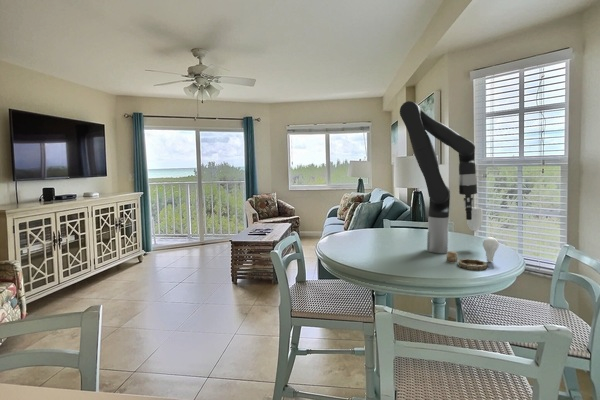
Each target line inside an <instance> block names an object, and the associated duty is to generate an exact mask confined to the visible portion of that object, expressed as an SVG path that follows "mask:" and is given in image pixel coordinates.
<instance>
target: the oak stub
mask: <svg viewBox="0 0 600 400" xmlns="http://www.w3.org/2000/svg"><path fill="white" fill-rule="evenodd" d="M446 262H447V263H451V264H452V263H458V253H457V251H452V250H451V251H450V250H448V252H447V253H446Z"/></svg>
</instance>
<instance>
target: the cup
mask: <svg viewBox="0 0 600 400" xmlns="http://www.w3.org/2000/svg"><path fill="white" fill-rule="evenodd" d="M471 213H472V219H471V220H467V219H466V223H467V227H468V228H469V229H470V230H471V231H472V232H476V231H478V230H480V229H481V227H482V226H483V225H482V224H483V221H484V213H483V207H479V206H478V207H476V206H474V207H472V211H471Z"/></svg>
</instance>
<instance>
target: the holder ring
mask: <svg viewBox="0 0 600 400" xmlns="http://www.w3.org/2000/svg"><path fill="white" fill-rule="evenodd" d="M457 264H458V265H457V266H458V267H460V268H461V269H465V270H470V271H484V270H487V267H488V265H487V262H485V261H483V260H479V259H474V258H472V259H471V258H461V259H457Z"/></svg>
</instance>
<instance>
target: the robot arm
mask: <svg viewBox="0 0 600 400" xmlns="http://www.w3.org/2000/svg"><path fill="white" fill-rule="evenodd" d="M399 114H400V118H401V120H402V121H403V123H404V125H405V128H406V130H407V133H408V136H409V140H410V144H411V147H412V151H413V153H414V157H415V160H416V162H417V164H418V165H417V166H418V167H419V169H420V171H421V173H422V176H423V178H424V180H425V181H424V182H425V185H426V188H427V192H428V193H427V195H428V198H429V208H428V217H427V218H428V222H427V223H428V224H427V225H428V227H427V235H426V236H427V237H426V238H427V239H426V252H428V253H434V254H447V252H448V251H449V228H450V227H449V224H450V222H449V221H450V205H451V203H450V200H451V191H450V187H448V185H446V184H445V181H444V180H443V177H442V174H441V171H440V167H439V161H438V157H437V153H436V151H435V148H434V145H433V142H432V140H431V138H430V136H429V135H432V136H433V138H435V139H437V140H438V141H440V142H442V143H443V144H444V145H446V146H447V147H450V148H451V149H453V150H454V151H456V152H457V153H458V161H459V163H458V174H459V175H458V193H459V195H461V196H464V197H463V203H464V204H463V205H464V208H465V215H466V216H465V218H466V219H465V220H466V221H467V220H471V219H472V213H471V211H472V207H473V205H474V204H473V203H474V198H473V197H472V195H476V194H478V184H477V183H478V181H477V180H478V179H477V172H476V171H477V170H476V169H477V168H476V162H475V158H476V157H475V155H476V153H475V151H476V146H475V144H474V142H473V141H471V140H469V139H468V138H466V137H464V136H462V135H460V134H459V133H458V132H456V131H455V130H453V129H452V128H450V127H449V126H447V125H446V124H443V123H442V122H440V121H437V120H436V119H434V118H432V117H431V116H430V115H428V114H427V113H425V112H424V110H422V109H421V107H420V106H419V104H418V103H416V102H414V101H412V100H407V101H405V102H403V103H402V105H401V106H400V108H399ZM428 133H429V134H428Z"/></svg>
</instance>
